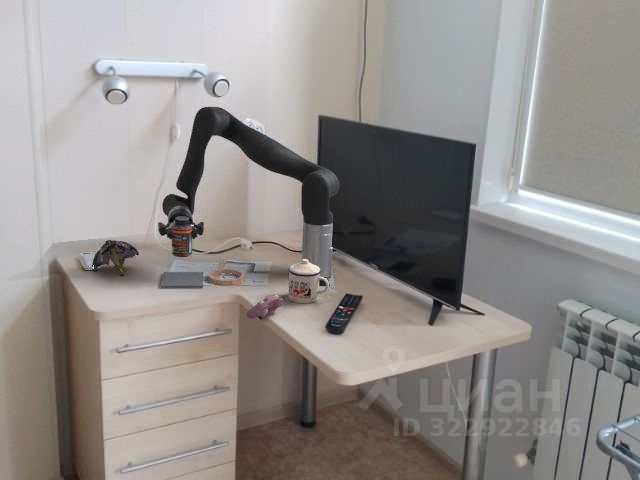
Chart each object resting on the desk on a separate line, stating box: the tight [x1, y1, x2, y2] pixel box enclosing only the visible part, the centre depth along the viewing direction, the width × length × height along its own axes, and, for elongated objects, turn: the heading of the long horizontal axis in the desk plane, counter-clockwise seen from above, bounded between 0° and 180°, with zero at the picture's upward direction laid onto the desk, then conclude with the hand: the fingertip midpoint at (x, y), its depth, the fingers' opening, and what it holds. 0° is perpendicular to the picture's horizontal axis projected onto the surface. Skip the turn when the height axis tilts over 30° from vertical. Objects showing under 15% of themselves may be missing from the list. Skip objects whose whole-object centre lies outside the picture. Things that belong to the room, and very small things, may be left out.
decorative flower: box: [91, 239, 140, 277], centre depth 208 cm, size 15×12×15 cm
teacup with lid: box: [288, 258, 330, 304], centre depth 195 cm, size 12×9×12 cm
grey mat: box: [160, 271, 204, 289], centre depth 205 cm, size 12×12×1 cm
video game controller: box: [246, 294, 285, 319], centre depth 183 cm, size 10×5×7 cm, turn 144°
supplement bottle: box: [171, 216, 193, 258], centre depth 201 cm, size 6×6×11 cm
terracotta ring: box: [207, 268, 246, 286], centre depth 209 cm, size 11×11×1 cm
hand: (182, 236), depth 199 cm, fingers closed on supplement bottle, 6 cm apart
